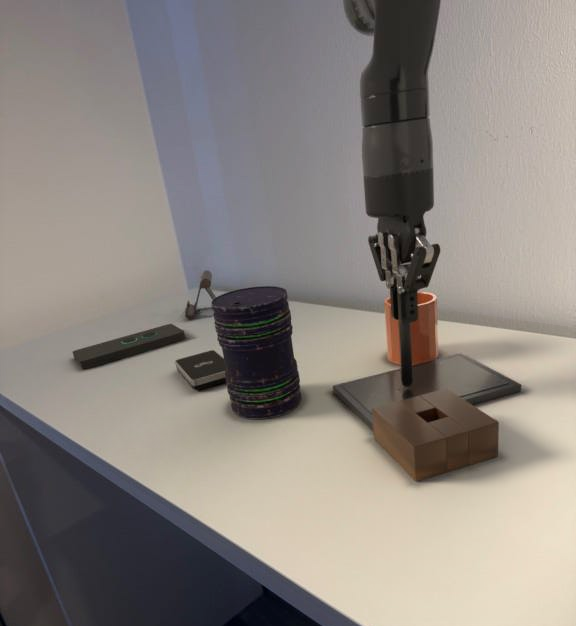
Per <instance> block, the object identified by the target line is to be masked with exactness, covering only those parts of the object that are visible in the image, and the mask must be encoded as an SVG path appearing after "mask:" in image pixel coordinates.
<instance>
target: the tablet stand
mask: <svg viewBox="0 0 576 626" xmlns="http://www.w3.org/2000/svg"><path fill="white" fill-rule="evenodd" d="M212 277H213V274H212V272H211V270H203V272H202V274H201V277H200V282H199V287H198V292H197V296H196V300H195V302H194V304H191V303H190V300H187V301H186V307H185V309H184V315H185V319H187V320H189V321H192V320H193V319H195V317H196V311H197V307H198V302H199V298H200V295H201V290H202V289H205V291H206V292H207V294H208V296H209V297H210V298H211V301H212V300H213V299H215V298H216V297H217V296H216V294H215V293H214V292H213V290H212V288H211V286H212Z"/></svg>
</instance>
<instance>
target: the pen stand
mask: <svg viewBox="0 0 576 626" xmlns="http://www.w3.org/2000/svg"><path fill="white" fill-rule="evenodd" d="M372 419H373V431H374V432H373V431H372V432H373V440H374V441H375V442H376V443H377V444H378V445H379V446H380V447H381V448H382V450H384V451H385V453H387V455H389V456H390V457H391V458H392V460H393V461H395V462H396V464H398V466H400V467H401V468H402V469H403V470H404V471H405V473H406V474H408V476H410V477H411V478H412V480H413V481H414V482H419V481H423V480H427V479H429V478H432V477H436V476H439V475H442V474H445V473H449V472H452V471H454V470H455V471H456V470H458V469H462V468H465V467H468V466H472V465H474V464H477V463H481V462H483V461H487V460H490V459H493V458H497V457H498V456H499V431H500V422H499V421H498V420H497V419H494V418H493V417H492V416H491V415H489V414H487V413H486V412H484V411H483V410H481V409H480V408H478V407H476V406H475V405H471V404H470V403H468V402H467V401H465V400H464V399H462V398H461V397H459V396H458V395H456V394H454V393H453V392H451V391H450V390H448V389H447V388H445V389H442V390H438V391H434V392H431V393H427V394H423V395H420V396H416V397H412V398H409V399H405V400H401V401H397V402H394V403H390V404H386V405H383V406H379V407H375V408H372Z"/></svg>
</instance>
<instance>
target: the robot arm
mask: <svg viewBox="0 0 576 626" xmlns="http://www.w3.org/2000/svg"><path fill="white" fill-rule="evenodd" d="M441 1H442V0H342V5H343V10H344V11H343V12H344V14H345V18H346V20H347V21H348V24H349V25H350V26H351V27H352V28H353V29H354V30H355V31H356V32H357V33H359V34H361V35H363V36H366V37H373V43H372V54H371V58H370V60H369V61H368V63H367V64H366V65H365V66H364V68H363V69H362V72H361V73H360V81H359V97H360V111H361V112H360V113H361V114H360V115H361V126H362V128H361V129H362V134H361V135H362V137H361V162H362V163H361V164H362V174H363V176H362V177H363V190H364V192H363V193H364V203H365V214H366V216H368V217H370V218H372V219H377V226H376V229H377V233H376V234H374V235H368V238H367V242H368V245H369V249H370V252H371V255H372V258H373V262H374V266H375V268H376V271H377V276H378V278H379V280H380V282H385V286H386V288H387V289H388V290H389V297H390V301H391V316H392V318H394V319H396V320H398V319H399V321H400V322H402V323H404V324H406V323H410V322H414V321H416V320H417V319H418V301H417V292H419V291H420V290H422V289H425V288H428V287H429V285H430V282H431V279H432V277H433V274H434V271H435V268H436V265H437V262H438V260H439V257H440V254H441V246H440V244H439V243H433V244H431V243H430V242H429V241H428V239H427V238H426V237H427V228H426V224H425V219H424V216H425V214H426V213H427V212H429V211H431V210H433V208H434V206H435V189H434V187H435V185H434V181H435V180H434V177H435V176H434V142H433V133H432V128H431V118H430V116H431V115H430V81H429V80H430V78H429V72H430V65H431V60H432V57H433V53H434V52H433V51H434V47H435V42H436V41H435V40H436V34H437V30H438V23H439V17H440V11H441V6H442V5H441V3H442V2H441ZM405 279H406V280H405ZM397 290H398V292H399V293H398V298H397ZM398 312H399V318H398Z"/></svg>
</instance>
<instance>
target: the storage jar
mask: <svg viewBox="0 0 576 626" xmlns="http://www.w3.org/2000/svg"><path fill="white" fill-rule="evenodd" d="M288 298H289V296H288V291H287V288H284V287H281V286H275V285H263V286H252V287H246V288H239V289H236V290H232V291H228V292H225V293H221V294H220V295H218V296H216V298H215V299H213V300H212V299H211V303H210V304H211V309H212V311H213V320H214V323H213V324H214V328H215V329H214V330H215V332H216V336H217V339H216V340H217V342H218V345H219V346H220V347H221V351H222V357H223V358H224V362H225V367H226V370H225V377H226V382H225V383H226V391H227V394H228V395H229V400H230V402H231V403H230V405H231V410H232V413H233V414H234V415H236V416H237V417H239V418H243V419H248V420H267V419H272V418H277V417H281V416H283V415H286V414H288V413H290V412H292V411H293V410H295V409H297V408H298V406H300V404H301V402H302V393H301V391H300V390H301V383H300V382H301V379H300V378H301V377H300V372H299V367H298V362H297V359H296V357H295V353H294V346H293V339H292V336H293V328H294V327H293V324H292V314H291V313H292V312H291V309H290V305H289V300H288Z"/></svg>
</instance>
